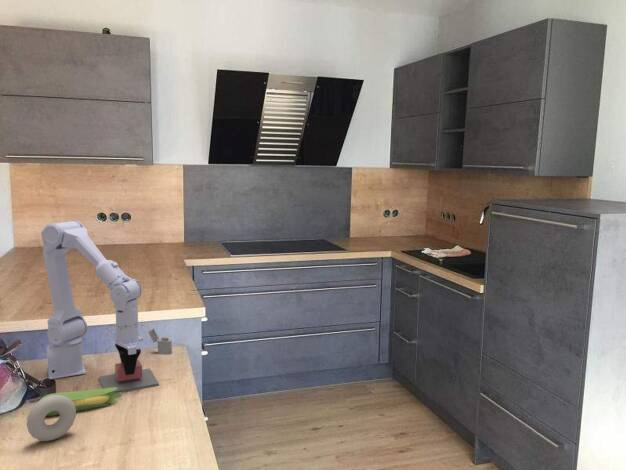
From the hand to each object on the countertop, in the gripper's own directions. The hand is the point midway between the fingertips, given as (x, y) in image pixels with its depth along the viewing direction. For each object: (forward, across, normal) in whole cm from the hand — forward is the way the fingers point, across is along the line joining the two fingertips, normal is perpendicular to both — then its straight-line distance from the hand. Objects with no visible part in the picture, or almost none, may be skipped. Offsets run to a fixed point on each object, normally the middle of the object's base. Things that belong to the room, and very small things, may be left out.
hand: (128, 371), depth 143 cm
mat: (+3, 0, 0) cm, 3 cm away
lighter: (+3, +19, -13) cm, 23 cm away
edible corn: (+4, -11, +13) cm, 18 cm away
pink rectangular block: (+2, 0, 0) cm, 2 cm away
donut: (+3, -24, +20) cm, 31 cm away
